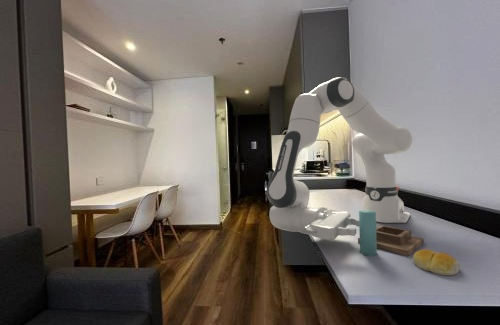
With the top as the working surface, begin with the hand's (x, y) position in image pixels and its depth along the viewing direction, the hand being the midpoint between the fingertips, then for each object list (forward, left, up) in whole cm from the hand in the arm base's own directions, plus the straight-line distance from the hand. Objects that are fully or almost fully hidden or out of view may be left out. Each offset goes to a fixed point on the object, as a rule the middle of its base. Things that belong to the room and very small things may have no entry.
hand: (359, 227), depth 70 cm
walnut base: (-12, +4, -7) cm, 15 cm away
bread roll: (-3, +17, -7) cm, 19 cm away
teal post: (0, +2, -7) cm, 7 cm away
